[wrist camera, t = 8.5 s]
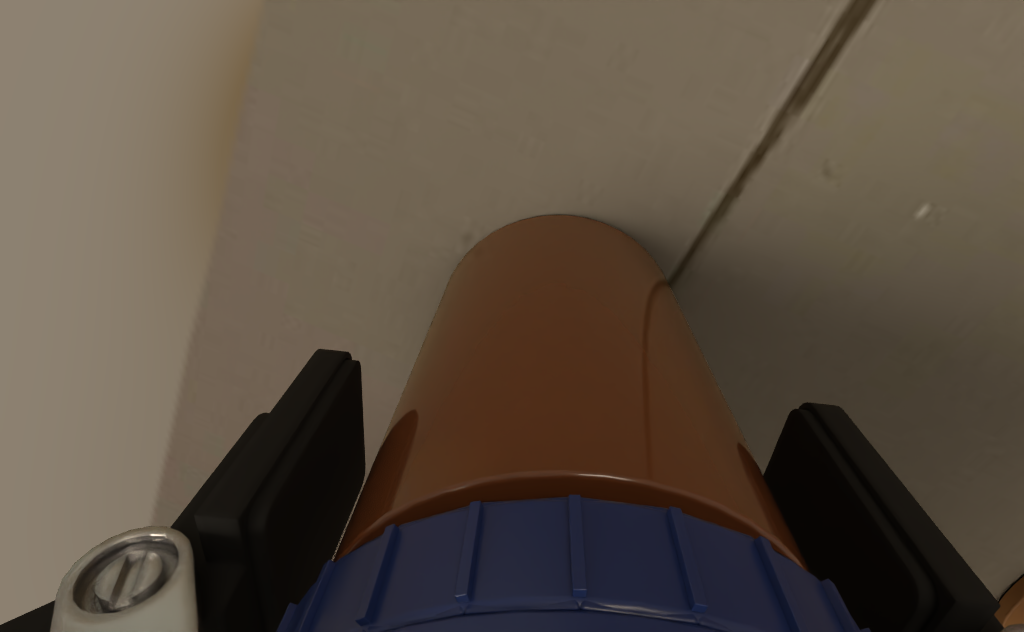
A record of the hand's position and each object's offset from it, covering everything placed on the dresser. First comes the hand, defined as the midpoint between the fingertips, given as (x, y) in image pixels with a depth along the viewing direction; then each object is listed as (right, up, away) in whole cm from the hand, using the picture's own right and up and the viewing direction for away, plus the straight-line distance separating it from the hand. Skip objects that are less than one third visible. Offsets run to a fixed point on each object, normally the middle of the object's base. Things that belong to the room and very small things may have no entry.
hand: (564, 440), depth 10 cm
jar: (0, +2, +5) cm, 5 cm away
